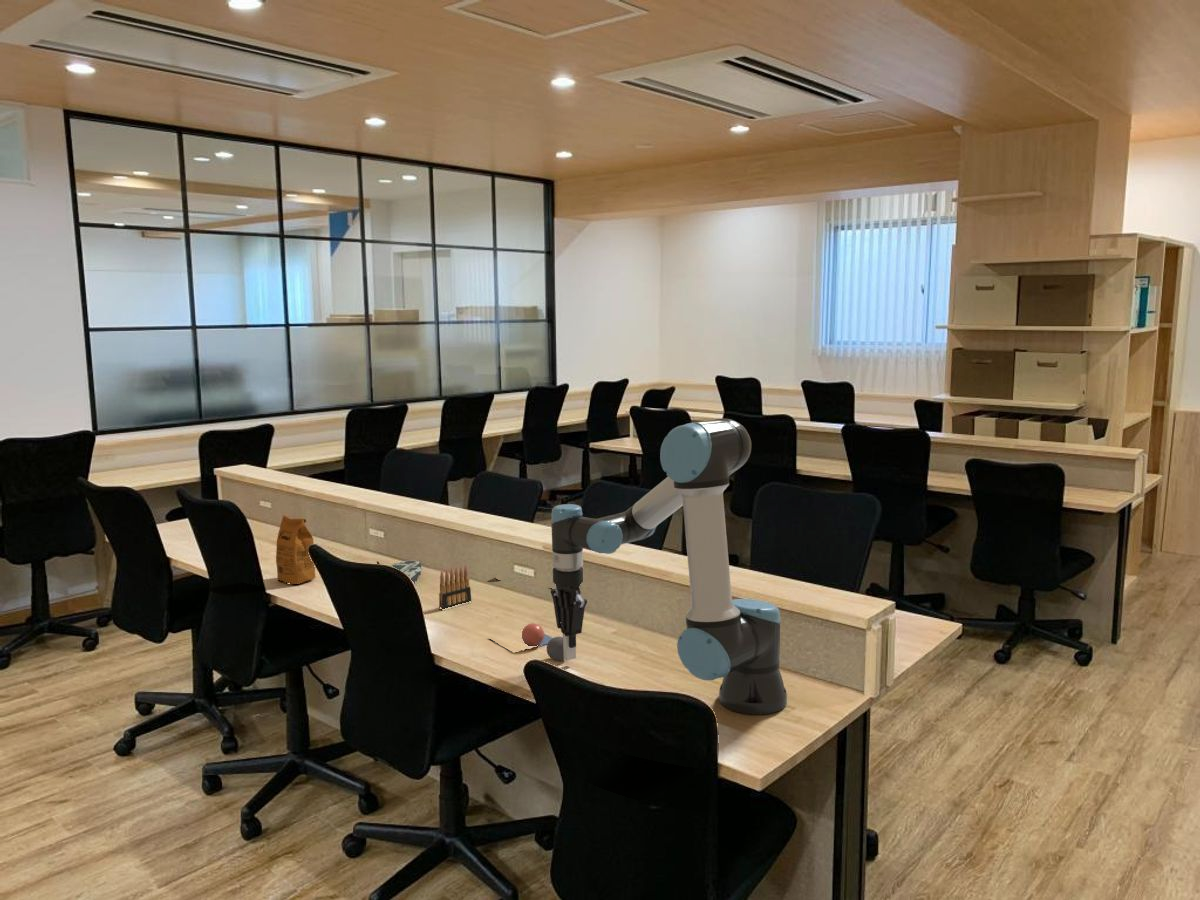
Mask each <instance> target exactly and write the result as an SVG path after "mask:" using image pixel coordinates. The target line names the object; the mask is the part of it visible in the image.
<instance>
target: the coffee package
mask: <svg viewBox="0 0 1200 900" xmlns="http://www.w3.org/2000/svg"><path fill="white" fill-rule="evenodd" d="M306 523H307V520H306V518H290V517H289V516H287V515H286V514H284V515H282V519H281V522H280V525H279V529H278V533H277V537H276V550H275V563H276V571H277V573H276V574H277V581H278V580H280V581H283V583H284V582H285V583H290V584H299V585H301V584H303V583H306V582H309V580H310V581H312V580H314V579H316V566H315V567H314V564H313V562H312V561H311V559H310V557H309V554H308V547H309V546H310V545H314V537H313V536H312V534H311V531H309V529H308V527H307V526H306ZM280 581H279V582H280ZM285 583H284V584H285ZM300 583H301V584H300Z"/></svg>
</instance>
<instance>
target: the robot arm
mask: <svg viewBox="0 0 1200 900" xmlns="http://www.w3.org/2000/svg"><path fill="white" fill-rule="evenodd" d="M659 451H660V453H659V455H660V456H659V458H660V459H659V461H660V465H661V468H662V470H663V471H664V472H665V473H666V476H667V477H665V479H663V480H662V481H661V482H660V483H658V484H657V485H656V486H654V487H653V488H652V489H651V490H650V491H649V492H647V493H646V494H644V495H643V496H642V497H641V498H640V499H639V500H638V501H636V502H635V503H634V504H633V505H632V506H631V507H629V508H628V509H627V510H625V511H623V512H619V513H616V514H612V515H607V516H604V517H599V518H591V517H586V516H583V515H584V513H583V509H582V507H581V506H580V505H578V504H574V503H571V504H570V503H565V504H564V503H563V504H559V505H556V506H554V507H553V508H552V509H551V521H550V525H551V547H552V548H551V549H552V551H551V552H552V556H551V557H552V558H551V560H552V566H553V568H552V583H553V584H554V585H555V584H556V586H555V588H553V589H550V594H551V598H552V601H553V608H554V615H555V622H556V627H557V629H560V631H561V633H562V637H563V649H564V659H563V660H565V661H570V660H573V659H577V635H579V634H582V632H583V623H584V616H585V609H586V605H587V603H588V600H587V599H586V598H584V599H583V597H582V596H581V594H582V593H581V589H580V588H581V586H580V584H581V583H582V582H583V568H582V566H583V564H584V551H583V549H584V550H589V551H592V552H594V553H598V554H606V555H610V554H614V553H616V552H617V550H618V549H619V548H620V547H621V546H622V545H625V544H629V543H633V542H637V541H643V540H645V539H646V538H649V537H651V536H653V534H654V533H655V532H656V529H657V526H659V524H661V523H662V522H664V521H665V520H666V519H667V518H669V517H670V516H672V515H673V514H674V513H675V512H677V511H678V510H679V509H680V508H682V509H683V510H682V511H683V522H684V532H685V534H684V535H685V541H686V542H685V545H686V553H687V555H686V556H687V564H688V565H687V566H688V576H689V577H688V578H689V579H688V580H689V588H690V589H689V591H690V599H691V600H690V601H691V607H690V608H689V609H688V611H687V612H686V613H685V624H686V625H685V626H686V629H684V630H683V631H682V632H680V633H681V634H680V636H678V638H677V644H676V646H677V647H676V649H677V653H678V656H679V659H680V661H681V664H682V665H683V667H684V668H686V669H687V671H688V672H689V673H690V674H691V675H692V676H694V677H695V678H697V679H699V680H702V681H713V680H717V679H720V678H722V682H721V685H720V686H719V690H718V693H719V694H718V697H719V698H718V699H719V700H718V701H719V702H720V704H721V705H722V706H723V707H724V708H726V709H728V710H730V711H731V712H736V713H739V714H746V715H755V716H758V715H759V716H760V715H761V716H762V715H770V714H774V713H777V711H778V712H780V711H781V709H782V710H783V709H784V708H786V706H787V703H788V702H787V701H788V692H787V690H786V687H785V685H784V681H783V677H782V676H783V675H782V674H781V670H780V655H781V654H780V649H781V648H780V647H781V645H780V644H781V643H780V642H781V624H782V621H781V617H780V614H781V613H780V609H779V608H778V607H777V605H775V604H773V603H770V602H767V601H764V600H760V599H759V600H758V599H751V598H735V599H733V596H732V584H731V571H730V561H729V552H728V551H729V550H728V539H727V538H728V537H727V528H726V527H727V525H726V515H725V502H724V491H725V490H727V488H728V487H729V486H730V476H731V475H732V474H733V473H735V472H736V471H738V470H739V469H741V467H743V466H744V465H745V464H746V463H747V462H748V460H749V458H750V455H751V453H752V440H751V437H750V434H749V433H748V431H747V429H746V427H744V425H742V424H741V423H739V422H737V421H736V420H733V419H731V418H717V419H711V420H705V421H697V422H689V423H685V424H682V425H678V426H676V427H674V428H672V429H671V430H670V431H669V432H668V433H667V435H666V436H665V437H664V439H663V441H662V443H661V446H660V450H659ZM579 586H580V587H579Z"/></svg>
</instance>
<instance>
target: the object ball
mask: <svg viewBox="0 0 1200 900" xmlns="http://www.w3.org/2000/svg"><path fill="white" fill-rule="evenodd" d="M522 629H523V631H522V639H523V641H524V643H525V644H527V645H528V646H537V645H539V644H540V643H541V642H542V641H543V639H544V634H545V632H544V629H543V627H542V626H541V625H539V624H538V623H534V622H533V623H529V624H527V625H526V626H524V627H523V628H522Z"/></svg>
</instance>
